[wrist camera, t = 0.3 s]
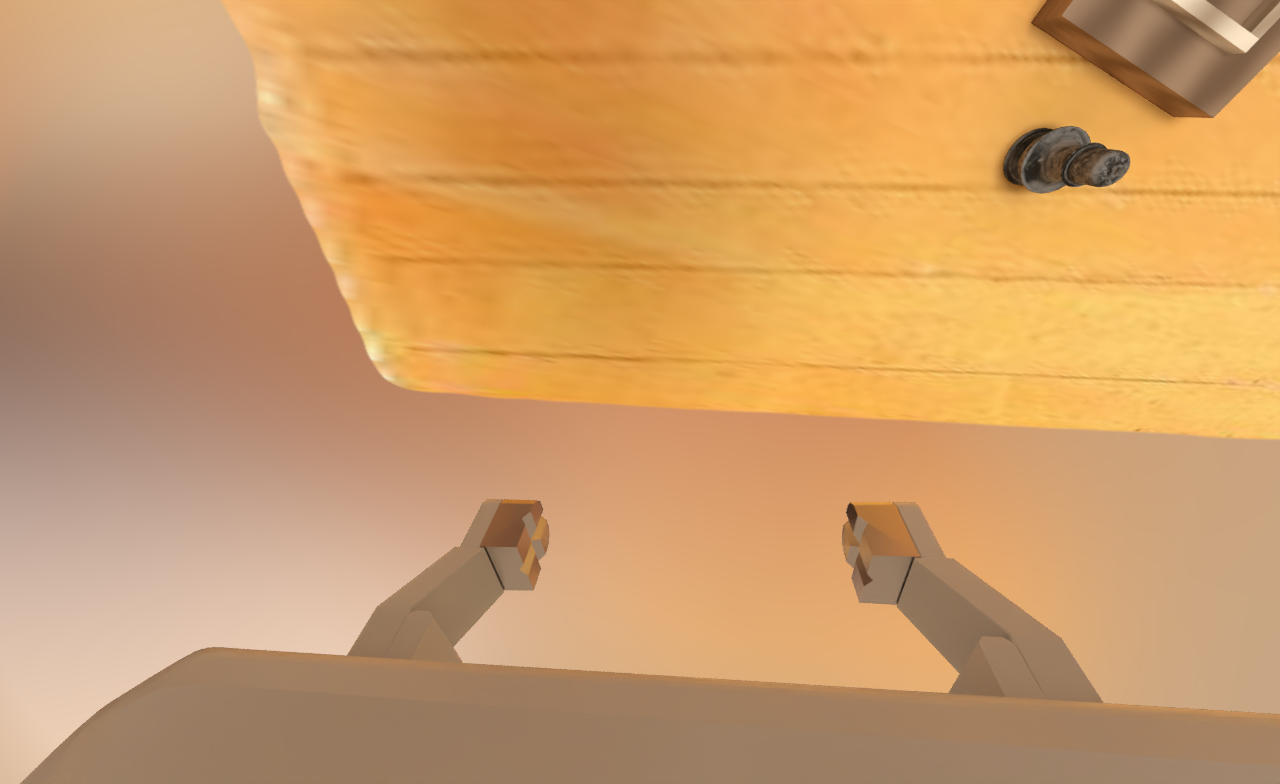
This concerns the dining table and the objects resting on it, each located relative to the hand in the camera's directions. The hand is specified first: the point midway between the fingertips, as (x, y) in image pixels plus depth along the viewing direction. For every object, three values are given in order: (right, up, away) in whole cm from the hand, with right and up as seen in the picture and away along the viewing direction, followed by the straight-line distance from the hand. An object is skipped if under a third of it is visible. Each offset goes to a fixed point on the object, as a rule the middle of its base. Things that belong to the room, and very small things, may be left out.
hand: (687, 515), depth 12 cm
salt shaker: (+40, +28, +35) cm, 60 cm away
